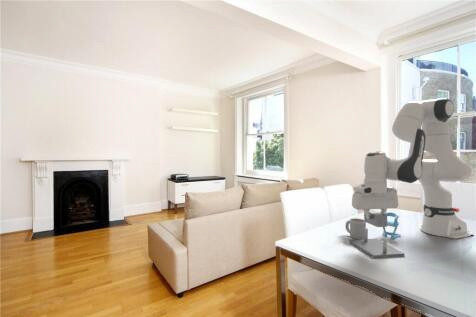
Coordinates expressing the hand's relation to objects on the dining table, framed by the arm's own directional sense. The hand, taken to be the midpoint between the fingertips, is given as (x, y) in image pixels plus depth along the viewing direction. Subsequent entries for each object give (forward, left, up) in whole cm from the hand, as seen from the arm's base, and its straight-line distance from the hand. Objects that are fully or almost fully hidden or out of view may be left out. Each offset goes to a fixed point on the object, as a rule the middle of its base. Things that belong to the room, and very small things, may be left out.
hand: (375, 218), depth 105 cm
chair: (-18, -13, -14) cm, 26 cm away
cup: (0, -15, -14) cm, 21 cm away
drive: (0, 0, -3) cm, 3 cm away
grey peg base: (0, 0, -14) cm, 14 cm away
